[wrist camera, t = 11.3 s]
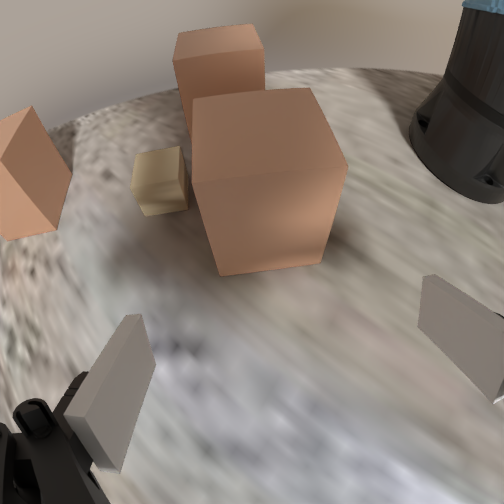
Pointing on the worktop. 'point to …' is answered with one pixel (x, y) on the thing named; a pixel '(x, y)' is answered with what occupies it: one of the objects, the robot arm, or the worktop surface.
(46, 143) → the tan peach cube
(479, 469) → the worktop surface
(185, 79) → the peach colored cube
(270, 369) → the worktop surface
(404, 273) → the worktop surface
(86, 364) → the worktop surface
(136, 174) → the beige cube
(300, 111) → the smooth terracotta cube
